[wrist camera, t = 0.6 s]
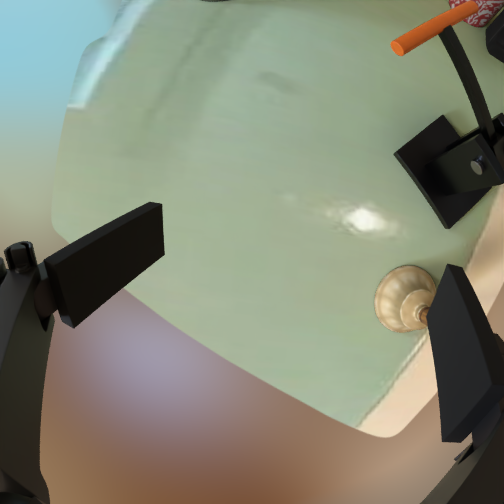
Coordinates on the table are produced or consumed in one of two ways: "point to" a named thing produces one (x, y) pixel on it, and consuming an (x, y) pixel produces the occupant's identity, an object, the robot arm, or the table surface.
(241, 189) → the table surface
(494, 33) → the portable radio
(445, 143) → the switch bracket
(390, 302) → the hand bell
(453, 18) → the switch lever
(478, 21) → the mug
